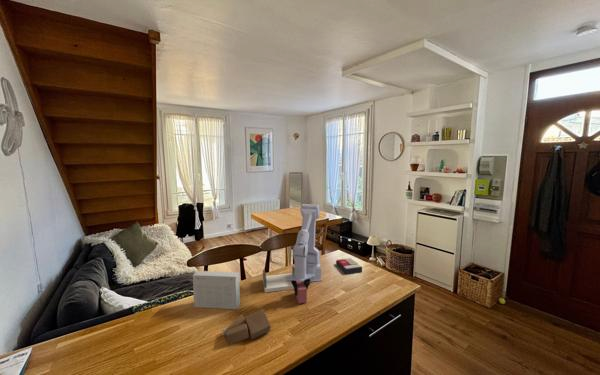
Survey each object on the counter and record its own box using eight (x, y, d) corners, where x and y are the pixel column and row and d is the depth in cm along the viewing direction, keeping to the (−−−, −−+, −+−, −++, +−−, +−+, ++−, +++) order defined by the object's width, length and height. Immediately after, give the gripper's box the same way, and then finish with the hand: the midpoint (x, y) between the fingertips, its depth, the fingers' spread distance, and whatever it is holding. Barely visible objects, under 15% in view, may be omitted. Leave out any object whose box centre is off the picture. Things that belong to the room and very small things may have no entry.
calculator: (351, 257, 165) (362, 265, 151) (351, 263, 166) (362, 272, 151) (335, 259, 162) (346, 268, 148) (335, 265, 163) (346, 275, 148)
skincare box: (240, 303, 120) (239, 272, 118) (236, 310, 115) (235, 277, 113) (199, 300, 122) (197, 270, 120) (193, 307, 117) (191, 275, 115)
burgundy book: (302, 291, 129) (302, 278, 128) (306, 302, 120) (306, 289, 119) (294, 292, 128) (294, 279, 128) (298, 303, 119) (298, 290, 118)
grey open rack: (293, 276, 146) (293, 265, 146) (298, 288, 133) (298, 277, 132) (262, 279, 143) (262, 268, 142) (264, 292, 129) (264, 280, 128)
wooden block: (224, 333, 104) (266, 318, 110) (225, 353, 91) (272, 335, 97) (221, 316, 104) (263, 302, 109) (221, 333, 91) (269, 316, 97)
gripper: (287, 273, 117) (287, 300, 118) (316, 270, 120) (316, 296, 121) (284, 266, 123) (285, 292, 125) (312, 263, 126) (312, 288, 128)
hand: (300, 293), depth 124 cm, fingers closed on burgundy book, 4 cm apart
